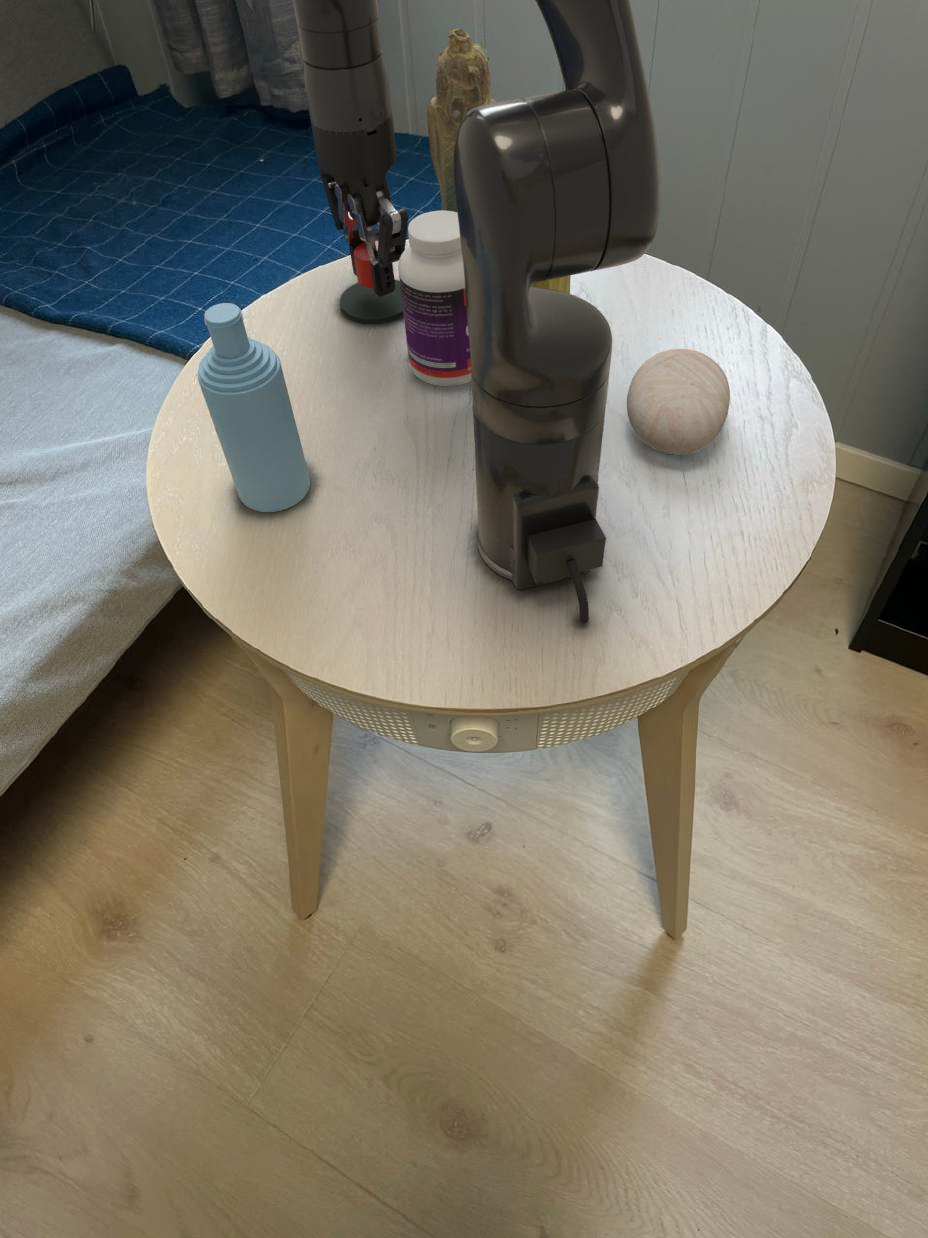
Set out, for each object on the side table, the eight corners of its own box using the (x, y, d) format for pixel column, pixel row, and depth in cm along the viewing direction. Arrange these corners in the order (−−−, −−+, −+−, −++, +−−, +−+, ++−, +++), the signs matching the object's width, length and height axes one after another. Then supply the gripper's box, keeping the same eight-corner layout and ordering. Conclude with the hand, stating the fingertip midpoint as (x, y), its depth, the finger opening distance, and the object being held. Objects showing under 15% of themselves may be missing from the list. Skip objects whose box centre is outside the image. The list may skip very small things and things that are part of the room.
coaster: (421, 315, 91) (421, 310, 90) (348, 330, 90) (347, 325, 89) (403, 276, 96) (403, 272, 95) (334, 291, 95) (333, 286, 94)
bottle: (316, 502, 74) (271, 327, 60) (243, 519, 73) (180, 345, 60) (304, 456, 78) (259, 281, 64) (234, 471, 77) (174, 297, 63)
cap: (377, 263, 92) (374, 236, 90) (401, 277, 91) (399, 249, 88) (350, 279, 91) (345, 251, 88) (374, 292, 89) (370, 265, 87)
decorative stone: (639, 373, 83) (646, 328, 79) (733, 388, 81) (744, 343, 77) (609, 458, 76) (615, 413, 72) (711, 478, 74) (723, 432, 70)
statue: (505, 268, 96) (503, 6, 76) (500, 310, 91) (497, 41, 71) (444, 267, 96) (427, 8, 77) (436, 310, 91) (416, 43, 72)
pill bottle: (481, 395, 82) (476, 253, 71) (401, 387, 83) (383, 247, 72) (496, 345, 87) (493, 205, 76) (420, 339, 88) (406, 200, 77)
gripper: (279, 96, 80) (313, 267, 94) (352, 149, 73) (378, 326, 86) (348, 74, 82) (372, 244, 96) (426, 124, 75) (440, 301, 89)
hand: (374, 282), depth 91 cm, fingers closed on cap, 4 cm apart
